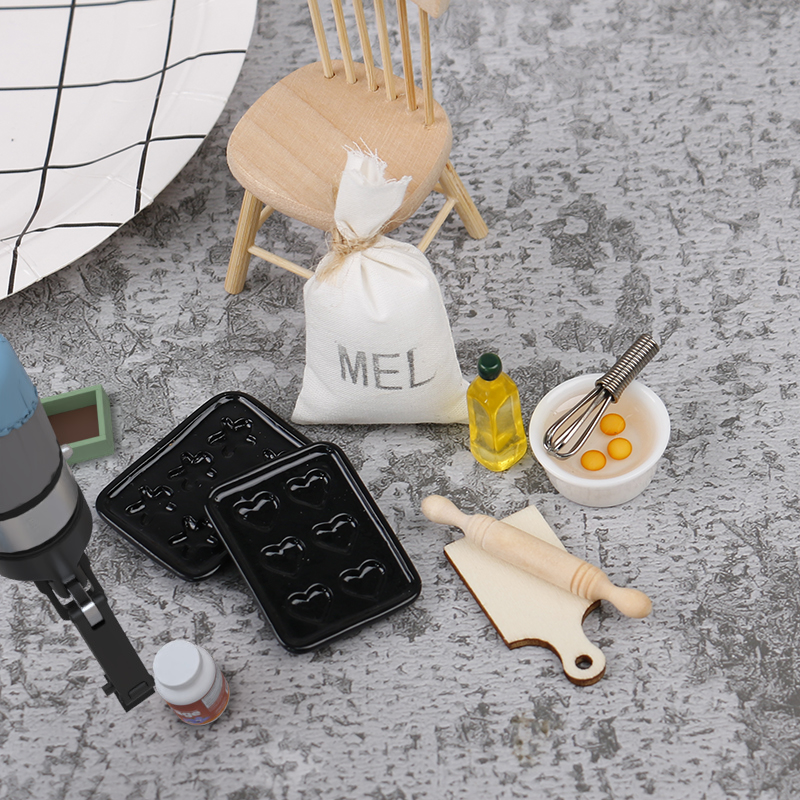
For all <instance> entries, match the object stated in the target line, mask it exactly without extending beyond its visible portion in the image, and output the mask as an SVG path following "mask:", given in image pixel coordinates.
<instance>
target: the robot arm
mask: <svg viewBox="0 0 800 800" xmlns="http://www.w3.org/2000/svg"><path fill="white" fill-rule="evenodd" d="M40 399H41V398H40V397H39V391H38V388H37V386H36V385H34V383H33V381H32V379H31V378H30V376H29V374H28V373H27V371H26V369H25V367H24V366H23V363H22V362H21V360H20V358H19V356H18V355H17V353H16V351H15V349H14V347H13V346H12V344H11V341H10V340H8V339H7V338H6V337H5V336H4V335H3V334H2V333H1V332H0V576H1V577H3V578H6V579H8V580H13V581H17V582H33V584H34V586H35V587H36V588H37V590H38V591H39V592H40V593H41V594H42V595H45V596H46V597H47V598H48V600H49V602H50V603H51V604H52V607H53V608H54V609H55V611H56V613H57V614H58V615H59V617H60V618H61V620H63V621H65V622H67V621H70V622H71V624H73V625H74V627H75V629H76V630H77V632H78V634H79V635H80V636H81V638H82V640H83V641H84V643H85V644H86V646H87V647H88V649H89V651H90V652H91V654H92V656H93V657H94V658H95V660H96V662H97V663H98V665H99V666H100V668H101V669H102V671H103V673H104V674H103V678H104V679H105V681H106V683H105V684H103V685H102V686H101V687H100V688H101V690H102V691H103V693H104V694H105V696H106V697H107V698H108V697H110V696H111V695H113V694H114V696H115V697H116V699H117V700H118V702H119V704H120V705H121V707H122V709H123V710H124V712H125V713H126V714H127V713H129V712H130V711H132V710H133V709H134V708H136V707H137V706H139V705H140V704H142V703H143V702H144V701H145V700H147V699H148V698H150V697H151V696H153V695H154V694H156V690H155V688H154V687H156V686H155V684H156V683H155V681H154V680H155V679H154V676H153V675H152V674H150V673H149V671H148V669H147V667H146V666H145V664H144V663H143V661H142V659H141V658H140V656H139V654H138V653H137V651H136V649H135V648H134V646H133V644H132V643H131V640H130V639H129V637H128V635H127V634H126V632H125V630H124V629H123V627H122V625H121V624H120V623H119V620H118V619H117V616H116V615H115V613H114V611H113V610H112V607H111V605H110V604H109V599H108V597H107V595H106V592H105V589H104V588H103V587H102V585H101V583H100V581H99V580H98V578H97V577H96V575H95V574H94V572H93V570H92V569H91V560H90V558H89V557H88V555H87V554H86V551H85V550H86V549H87V547H88V545H89V543H90V540H91V537H92V534H93V527H94V521H93V514H92V511H91V508H90V506H89V504H88V502H87V500H86V497H85V495H84V493H83V490H82V488H81V486H80V485H79V482H77V480H76V476H75V475H74V473H73V471H72V469H71V466H70V465H68V463H67V462H66V460H67V459H69V458H71V456H72V455H73V450H72V448H71V447H70V446H69V445H68V444H64V445H61V446H60V444H59V442H58V440H57V438H56V435H55V433H54V431H53V428H52V426H51V424H50V422H49V419H48V417H47V415H46V412H45V410H44V408H43V405H42V403H41V401H40ZM88 582H89V585H90V587H89V588H88V589H87V590H86V589H85V588H86V587H87V585H88ZM58 597H59V598H61V599H64V600H65V599H70V598H71V599H72V600H70V601H68V602H67V603H65V604H63V603H61V601H60V599H59V598H58Z"/></svg>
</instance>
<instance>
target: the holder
mask: <svg viewBox="0 0 800 800" xmlns="http://www.w3.org/2000/svg"><path fill="white" fill-rule="evenodd" d="M39 399H40V401H41V403H42V405H43V408H44V410H45V412H46V415H47V417H48V419H49V422H50V424H51V426H52V428H53V431H54V433H55V435H56V438H57V440H58V442H59V444H60V446H61V445H64V444H68V445H69V446H70V447H71V448H72V450H73V455H72V456H71V458H69V459H67V460H66V462H67V463H68V465H69V466H71V465H75V464H79V463H83V462H88V461H91V460H95V459H99V458H102V457H103V458H104V457H107V456H111V455H114V454H115V444H114V432H113V422H112V421H113V420H112V412H111V401H110V398H109V396H108V393H107V391H106V390H105V388H104V387H103V384H102V383H99V384H95V385H91V386H87V387H83V388H79V389H75V390H71V391H66V392H62V393H58V394H54V395H51V396H46V397H42V398H39Z"/></svg>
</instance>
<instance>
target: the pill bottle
mask: <svg viewBox="0 0 800 800" xmlns="http://www.w3.org/2000/svg"><path fill="white" fill-rule="evenodd" d="M152 671H153V675H154V676H153V678H154V679H155V680H154V681H155V683H156V684H155V686H154V687H155V688H156V692H157V693H158V694H159V696H160V697H161V698H162V699H163V701H164V702H165V703H166V704H167V706H168V707H169V708H170V709H171V711H173V713H174V714H175V715H176V716H177V717H178V718H179V719H180V720H181V721H183V722H184V723H186V724H188V725H191V726H205V725H208V724H210V723H213V722H215V721H216V720H218V719H219V718H220V717H221V716H222V714H224V712H225V710H226V709H227V707H228V706H229V702H230V698H231V696H230V695H231V689H230V685H229V682H228V680H227V678H226V677H225V675H224V674H223V672H222V670H221V669H220V667H219V665H218V664H217V662H216V661H215V659H214V658H213V657H212V655H211V653H210V652H209V651H208V650H207V649H205V648H204V647H202V646H201V645H198V644H195V643H194V644H193V643H192V642H191V641H188V640H186V639H174V640H171V641H169V642H167V643H166V644H164V645H163V646H161V648H159V650H158V651H157V652H156V654H155V656H154V659H153V663H152Z"/></svg>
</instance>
